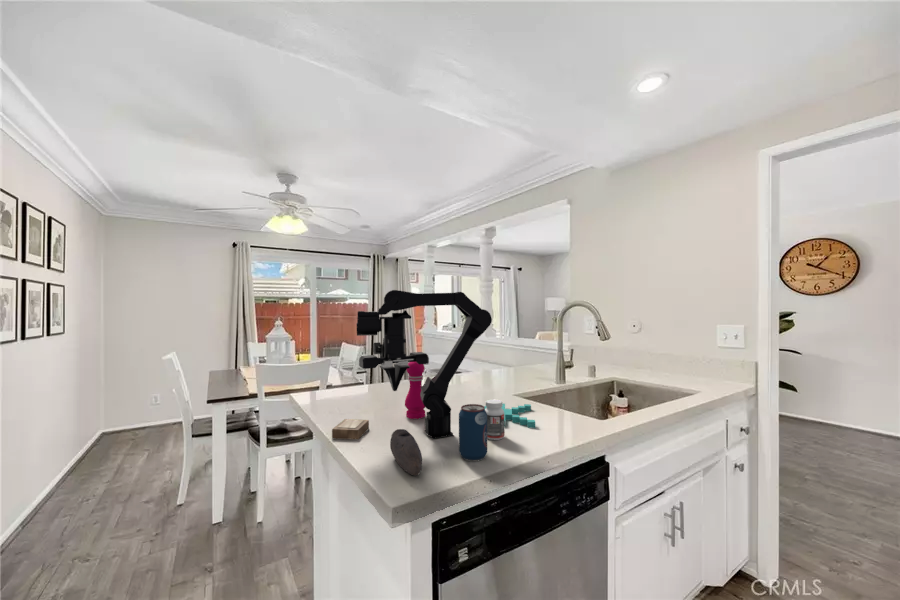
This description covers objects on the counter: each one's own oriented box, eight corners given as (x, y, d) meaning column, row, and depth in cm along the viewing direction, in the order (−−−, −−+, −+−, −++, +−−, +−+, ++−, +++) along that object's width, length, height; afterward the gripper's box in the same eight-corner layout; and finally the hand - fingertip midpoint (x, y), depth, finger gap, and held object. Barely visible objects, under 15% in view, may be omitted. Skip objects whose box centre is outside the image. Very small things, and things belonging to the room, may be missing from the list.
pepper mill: (404, 413, 129) (404, 354, 129) (426, 412, 130) (425, 354, 130) (404, 420, 122) (404, 357, 122) (427, 419, 123) (426, 357, 123)
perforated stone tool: (429, 479, 81) (429, 447, 81) (405, 484, 79) (405, 450, 79) (409, 454, 95) (409, 426, 95) (388, 457, 93) (388, 428, 93)
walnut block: (368, 419, 114) (344, 418, 115) (358, 429, 105) (332, 428, 106) (368, 429, 114) (344, 429, 115) (358, 440, 105) (332, 439, 106)
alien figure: (530, 410, 133) (473, 408, 136) (530, 404, 133) (473, 402, 136) (535, 429, 114) (468, 426, 116) (535, 422, 114) (468, 419, 116)
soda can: (491, 460, 91) (491, 409, 91) (464, 463, 89) (463, 412, 89) (481, 449, 97) (480, 402, 97) (455, 452, 95) (455, 404, 95)
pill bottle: (506, 440, 104) (506, 403, 104) (485, 441, 103) (485, 404, 103) (502, 433, 109) (501, 398, 109) (482, 433, 109) (482, 399, 109)
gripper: (415, 331, 118) (416, 382, 118) (354, 334, 110) (355, 388, 110) (429, 334, 108) (429, 389, 108) (363, 337, 100) (363, 397, 100)
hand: (394, 390), depth 107 cm, fingers closed
